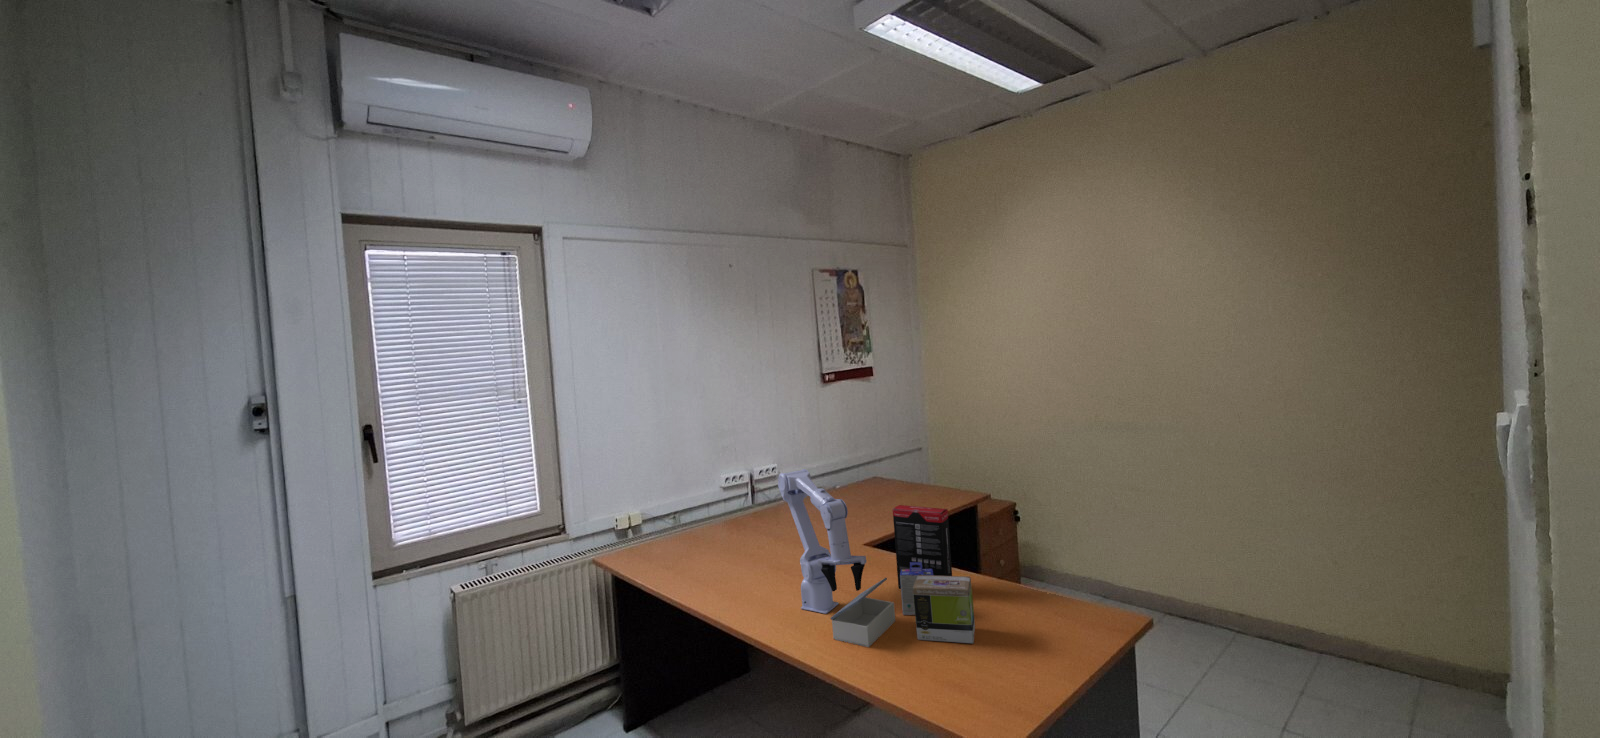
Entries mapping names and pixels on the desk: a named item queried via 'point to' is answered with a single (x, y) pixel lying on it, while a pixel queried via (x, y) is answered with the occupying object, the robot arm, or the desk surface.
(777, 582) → the desk surface
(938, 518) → the graphics card box
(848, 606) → the box lid
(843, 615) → the storage box
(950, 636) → the tea box
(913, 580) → the ink cartridge box
